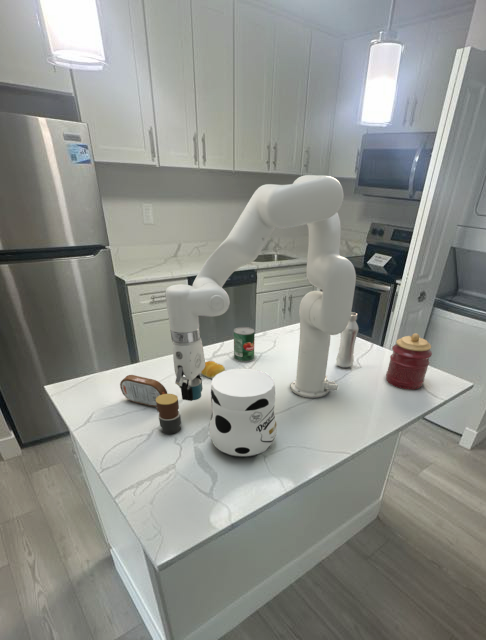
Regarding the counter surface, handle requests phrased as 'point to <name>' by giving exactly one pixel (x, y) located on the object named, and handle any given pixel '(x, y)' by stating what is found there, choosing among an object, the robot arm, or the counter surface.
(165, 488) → the counter surface
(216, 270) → the robot arm
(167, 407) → the cylinder
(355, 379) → the counter surface
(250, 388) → the milk container
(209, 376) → the bread roll
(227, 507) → the counter surface
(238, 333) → the canned tomato
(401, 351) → the kitchen canister
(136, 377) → the tin
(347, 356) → the plastic bottle
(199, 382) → the cylinder
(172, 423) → the black pod
